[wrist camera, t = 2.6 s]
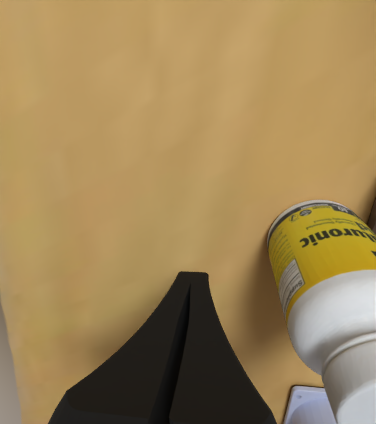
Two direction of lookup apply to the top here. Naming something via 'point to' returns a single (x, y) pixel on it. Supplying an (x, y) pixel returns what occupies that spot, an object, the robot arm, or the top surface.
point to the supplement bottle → (330, 300)
